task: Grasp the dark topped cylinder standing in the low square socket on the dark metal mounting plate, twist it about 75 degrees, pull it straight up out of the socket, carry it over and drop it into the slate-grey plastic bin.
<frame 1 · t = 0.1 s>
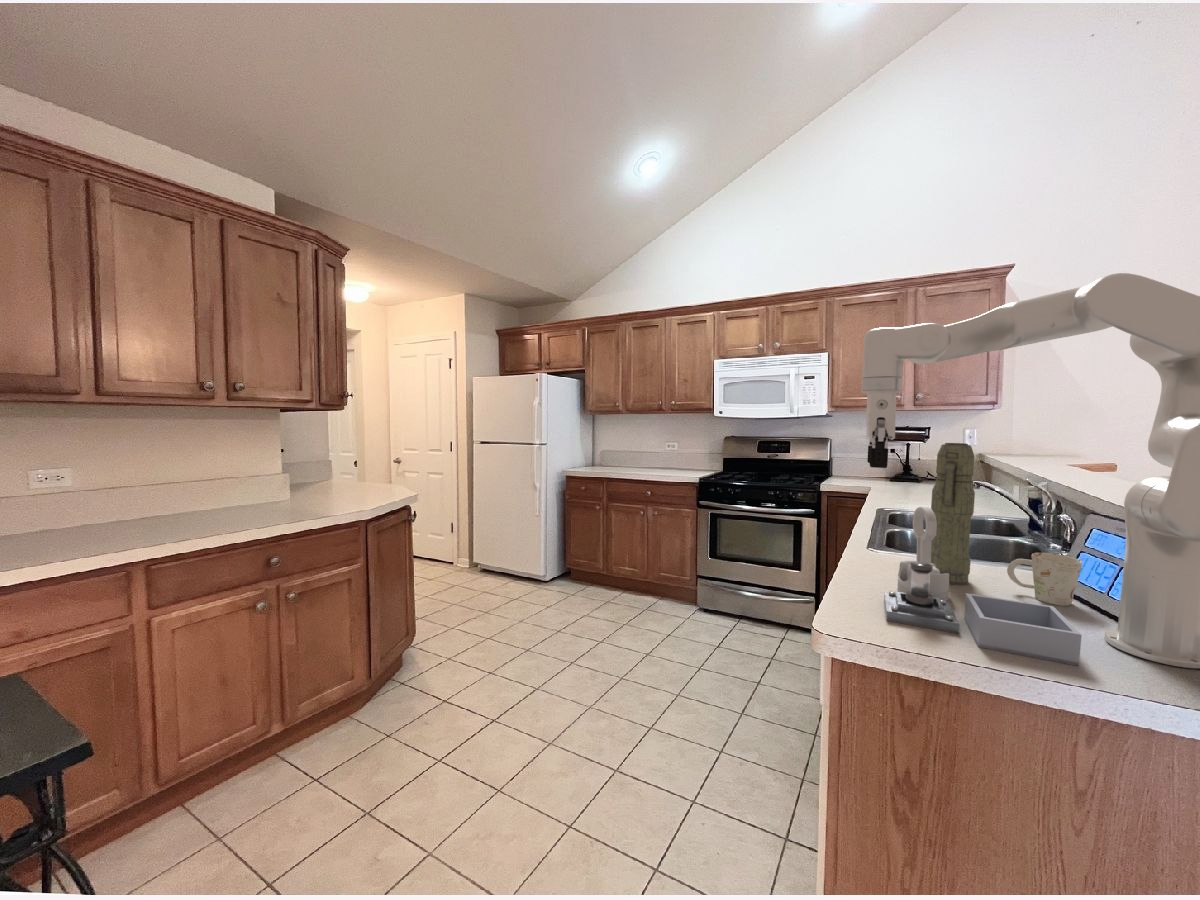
hand: (876, 465, 105), 31 cm above the countertop, fingers open, 9 cm apart
mount plate: (918, 615, 101), on the countertop
green moai statue: (947, 579, 124), on the countertop
engine component: (921, 593, 114), on the countertop
dark topped cylinder: (918, 606, 101), point 2 cm above the countertop, touching mount plate
mug: (1040, 598, 112), on the countertop
bin: (1015, 640, 90), on the countertop
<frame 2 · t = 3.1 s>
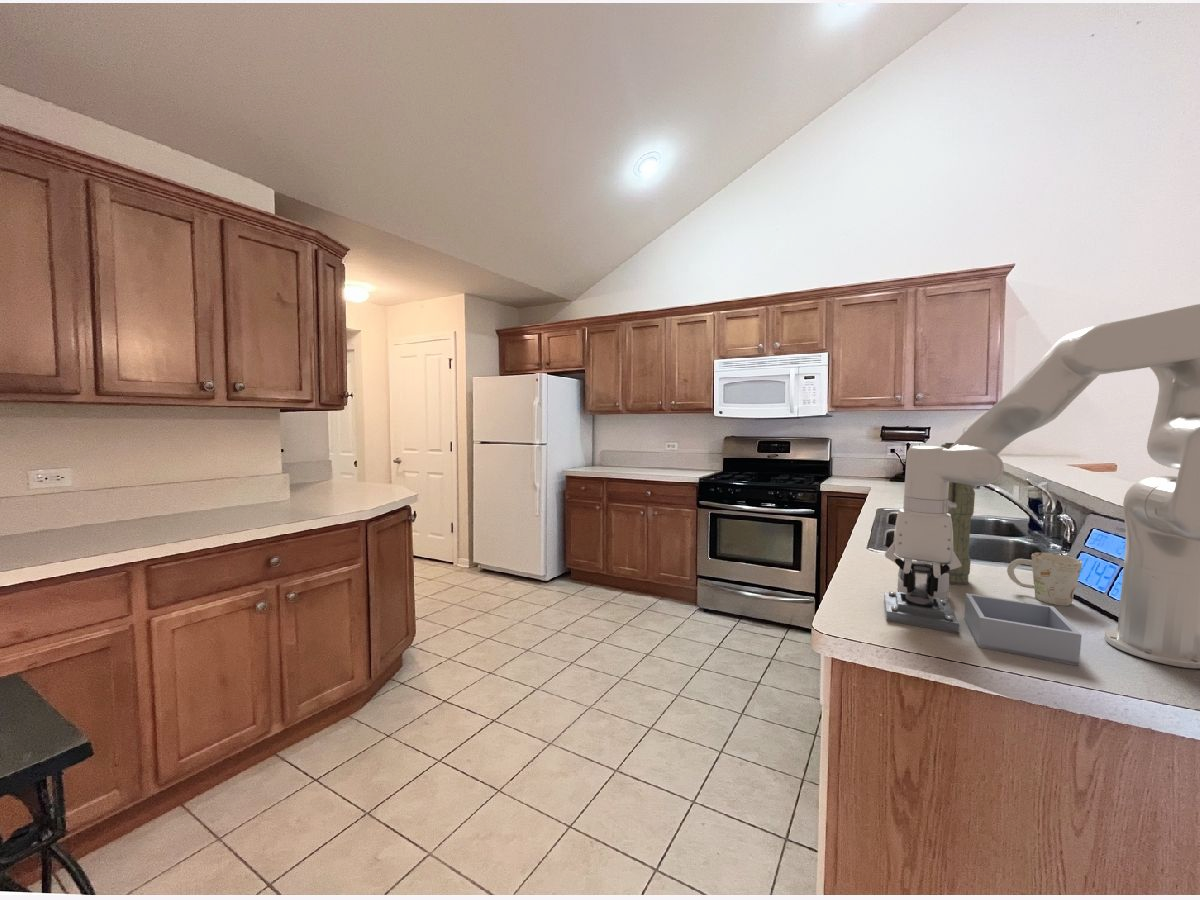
hand: (919, 591, 101), 5 cm above the countertop, fingers closed on dark topped cylinder, 3 cm apart
dark topped cylinder: (918, 606, 101), point 2 cm above the countertop, touching gripper, mount plate
everything else where it was.
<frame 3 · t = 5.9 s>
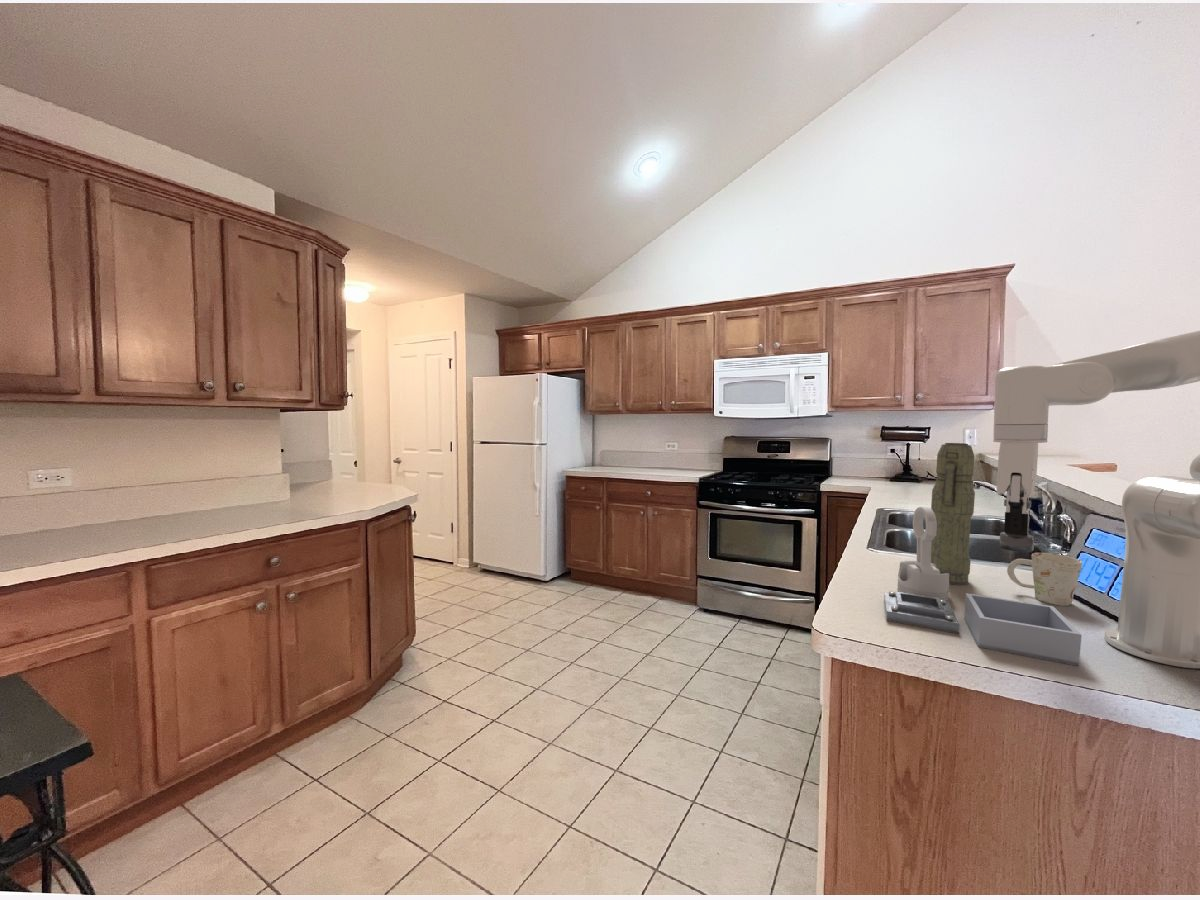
hand: (1016, 531, 90), 21 cm above the countertop, fingers closed on dark topped cylinder, 3 cm apart
dark topped cylinder: (1016, 548, 90), point 17 cm above the countertop, touching gripper
everything else where it was.
when the fingers open (6 cm above the countertop, at t = 8.8 s): dark topped cylinder drops 2 cm, resting on bin.
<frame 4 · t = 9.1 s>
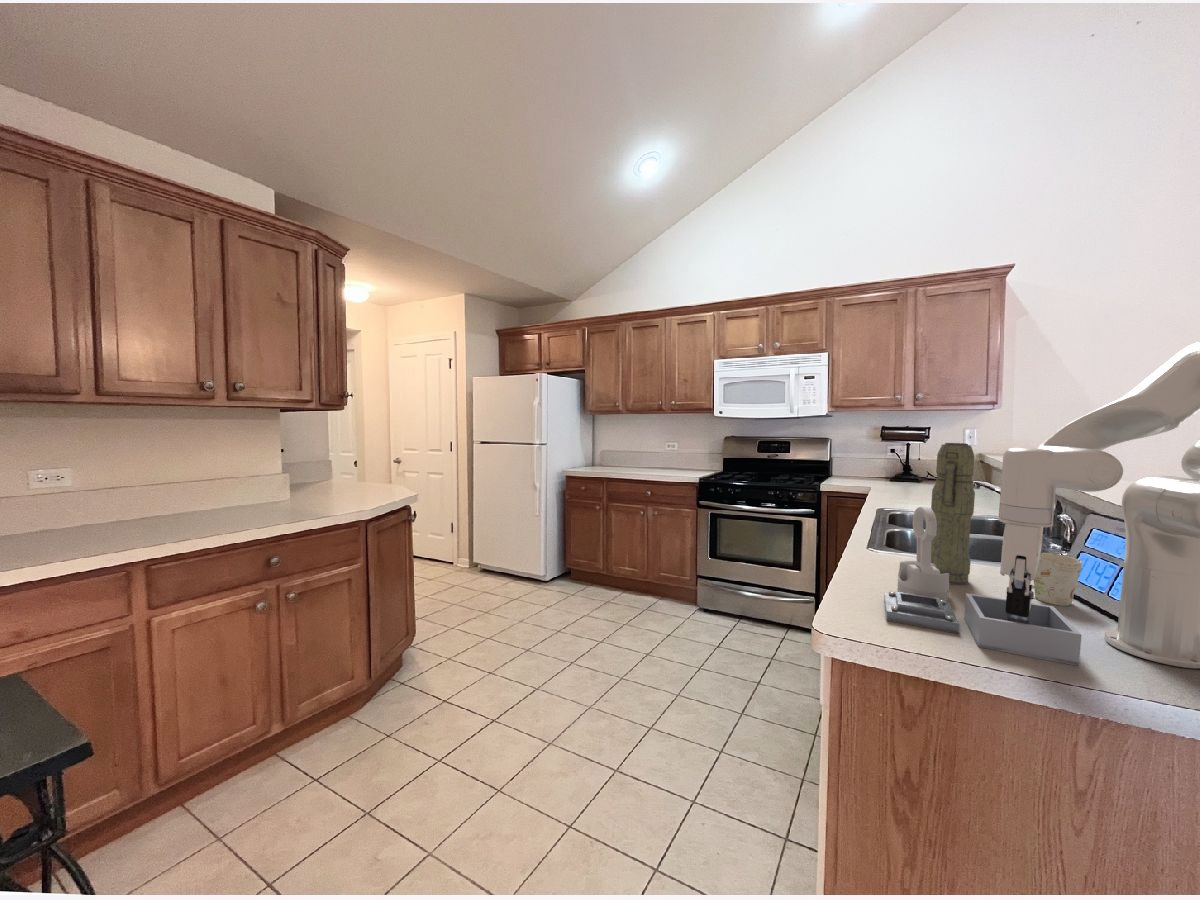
hand: (1018, 608, 90), 6 cm above the countertop, fingers open, 6 cm apart
dark topped cylinder: (1016, 636, 90), point 1 cm above the countertop, touching bin
everything else where it was.
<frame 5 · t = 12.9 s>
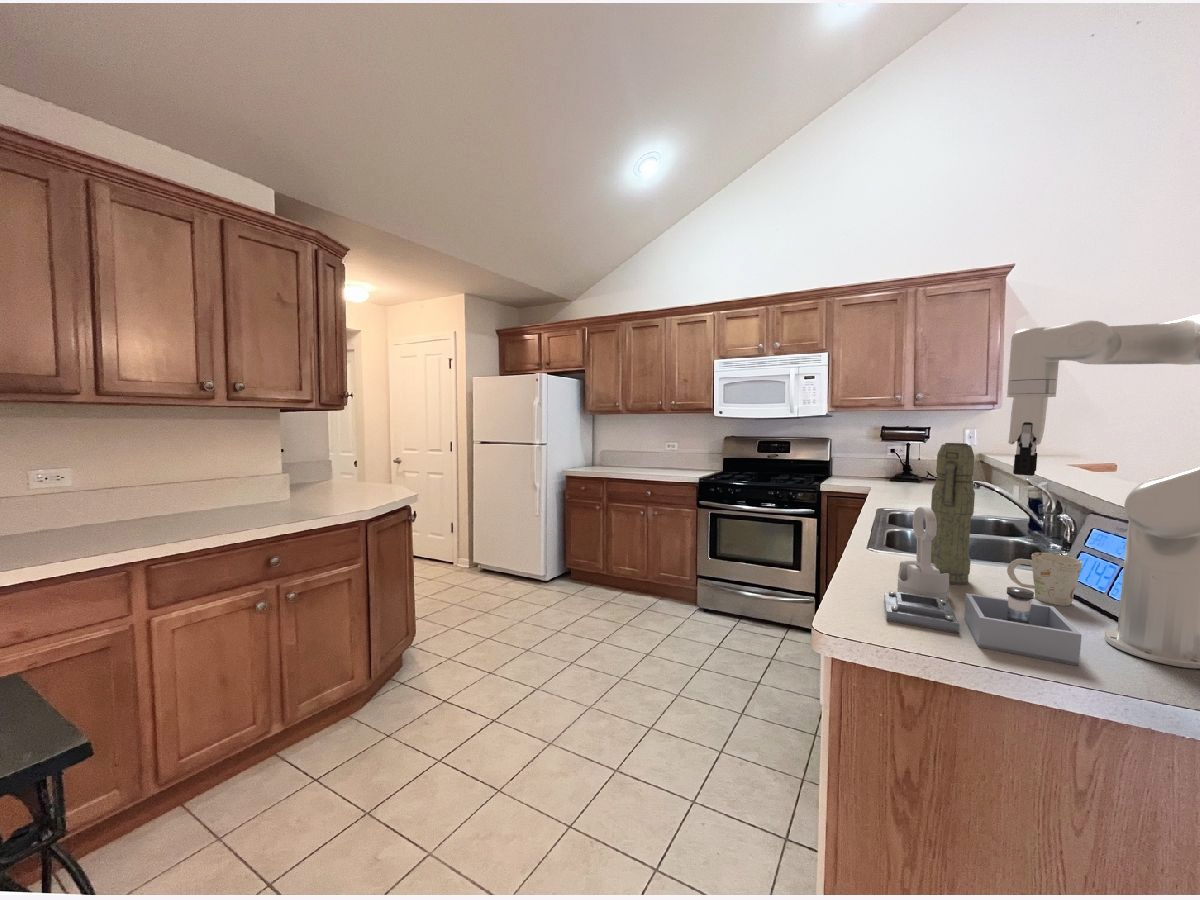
hand: (1024, 472, 100), 30 cm above the countertop, fingers open, 9 cm apart
nothing on the countertop moved.
at the end: dark topped cylinder inside the target area on the bin (0.3 cm from its centre), point 0.6 cm above the bin's base; the gripper is holding nothing; dark topped cylinder moved 15.7 cm from its start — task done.
